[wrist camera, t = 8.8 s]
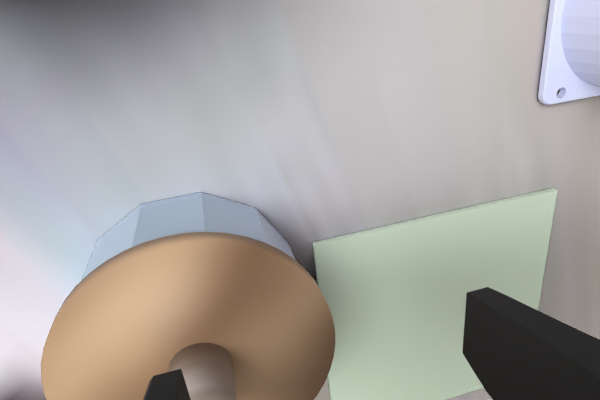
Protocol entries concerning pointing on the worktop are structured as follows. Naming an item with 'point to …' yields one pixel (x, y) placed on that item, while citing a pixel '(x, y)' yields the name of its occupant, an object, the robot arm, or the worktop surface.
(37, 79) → the worktop surface
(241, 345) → the lid
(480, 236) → the mat
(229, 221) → the bowl
